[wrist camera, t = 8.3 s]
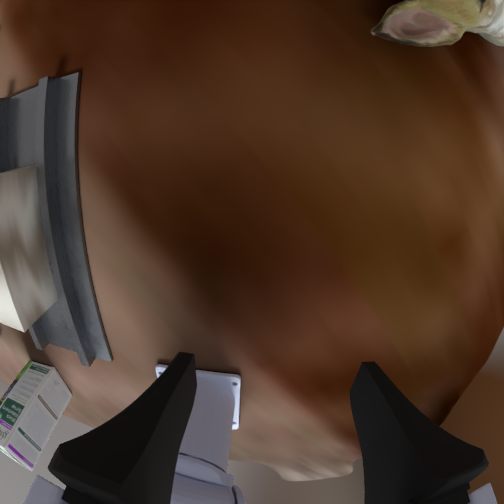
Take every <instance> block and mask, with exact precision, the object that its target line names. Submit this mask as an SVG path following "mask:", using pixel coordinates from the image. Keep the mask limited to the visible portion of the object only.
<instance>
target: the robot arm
mask: <svg viewBox="0 0 504 504" xmlns="http://www.w3.org/2000/svg"><path fill="white" fill-rule="evenodd" d="M155 369H156V374H157V379H156V380H155V382H154V383H153V384H152V385H151V386H150V387H149V388H148V389H147V390H146V391H145V392H144V393H143V394H142V395H141V396H139V397H138V398H137V399H136V400H135V401H134V402H133V403H132V404H130V405H129V406H128V407H127V408H125V409H124V410H123V411H122V412H120V413H119V414H117V415H116V416H115V417H113V418H112V419H110V420H109V421H107V422H106V423H104V424H102V425H101V426H99V427H97V428H95V429H93V430H91V431H90V432H88V433H86V434H84V435H82V436H79V437H77V438H74V439H72V440H70V441H67V442H64V443H62V444H60V445H59V447H58V448H57V450H56V452H55V453H54V456H53V457H52V459H51V462H50V464H49V466H48V469H49V471H50V472H51V473H52V474H53V475H54V476H55V477H56V478H58V479H59V480H60V481H61V482H63V483H64V484H65V485H66V489H65V490H63V489H61V488H60V487H58V486H56V485H54V484H53V483H51V482H49V481H48V480H46V479H44V478H43V477H41V476H39V475H37V476H36V478H35V480H34V482H33V484H32V486H31V488H30V490H29V493H28V495H27V497H26V499H25V502H24V504H247V503H246V499H245V496H244V495H243V493H242V491H241V489H240V488H239V487H238V486H235V485H233V478H234V476H233V475H231V474H228V473H227V466H228V458H229V450H230V442H231V434H232V429H238V427H239V408H240V386H241V377H240V376H239V375H236V374H227V373H218V372H209V371H201V370H196V368H195V359H194V354H190V353H183V352H180V353H178V354H177V355H176V357H175V358H174V359H173V361H172V362H171V363H170V364H169V366H168V365H162V364H158V365H157V366H156V368H155ZM161 372H162V373H161ZM234 382H236V383H234ZM350 401H351V409H352V414H353V418H354V423H355V427H356V431H357V435H358V439H359V443H360V447H361V452H362V457H363V467H364V485H365V504H497V501H496V498H495V495H494V492H493V489H492V486H491V483H488V484H486V485H484V486H482V487H481V488H479V489H477V490H475V491H473V492H472V493H470V494H468V493H467V490H468V489H470V485H469V482H470V481H471V480H473V479H474V478H475V477H477V476H478V475H479V474H480V473H482V472H483V471H484V470H485V469H486V468H487V467H488V464H489V463H488V460H487V458H486V456H485V453H484V451H483V449H480V448H478V447H475V446H473V445H470V444H468V443H466V442H464V441H462V440H460V439H458V438H456V437H455V436H453V435H451V434H449V433H448V432H446V431H445V430H443V429H442V428H441V427H439V426H438V425H436V424H435V423H434V422H432V421H431V420H430V419H429V418H427V417H426V416H425V415H424V414H423V413H422V412H420V411H419V410H418V409H417V408H416V407H415V406H414V405H413V404H412V403H411V402H410V401H409V400H408V399H407V398H406V397H405V396H404V395H403V394H402V393H401V391H400V390H399V389H398V388H397V387H396V386H395V385H394V384H393V382H392V381H391V380H390V379H389V378H388V377H387V375H386V374H385V373H384V372H383V371H382V370H381V368H380V367H379V366H378V365H377V364H376V363H375V362H362V364H361V366H360V369H359V371H358V373H357V376H356V378H355V380H354V383H353V385H352V387H351V389H350Z"/></svg>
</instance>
